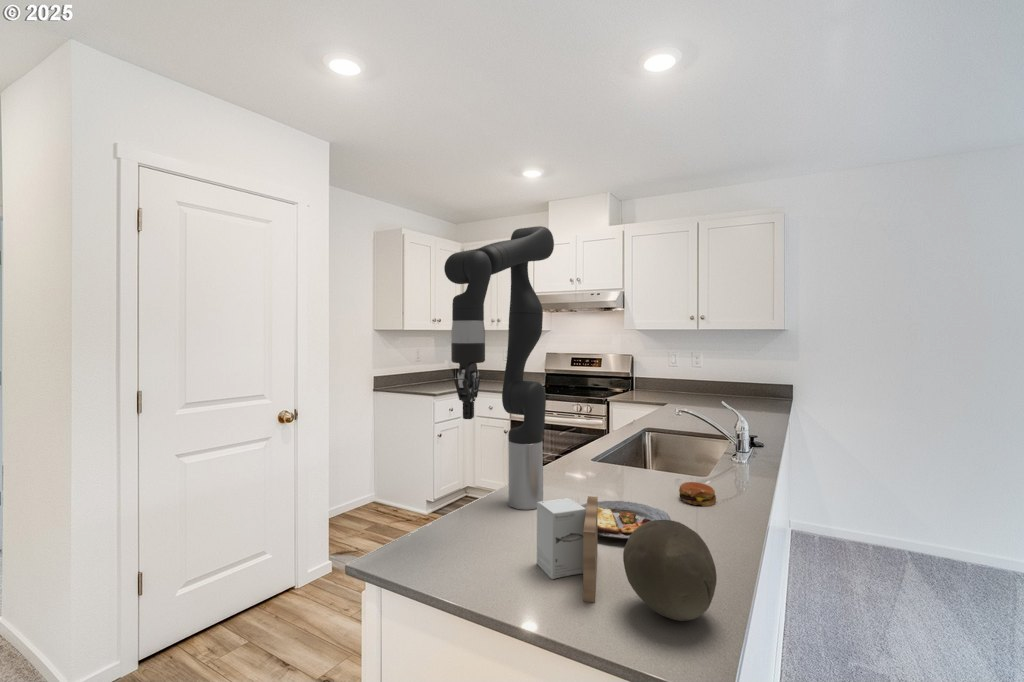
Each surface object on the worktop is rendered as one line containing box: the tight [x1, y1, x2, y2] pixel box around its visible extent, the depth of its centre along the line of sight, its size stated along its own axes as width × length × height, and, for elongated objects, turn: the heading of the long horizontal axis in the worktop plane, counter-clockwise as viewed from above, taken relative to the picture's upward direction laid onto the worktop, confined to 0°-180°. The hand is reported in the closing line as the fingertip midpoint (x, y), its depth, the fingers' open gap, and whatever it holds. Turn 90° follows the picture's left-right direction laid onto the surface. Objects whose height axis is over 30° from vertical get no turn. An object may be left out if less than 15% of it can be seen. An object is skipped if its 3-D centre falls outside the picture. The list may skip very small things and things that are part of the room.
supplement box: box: [536, 497, 586, 580], centre depth 97 cm, size 7×7×13 cm
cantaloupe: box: [622, 519, 717, 622], centre depth 81 cm, size 14×14×15 cm
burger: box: [678, 481, 717, 507], centre depth 137 cm, size 10×9×5 cm
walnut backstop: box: [582, 495, 599, 603], centre depth 94 cm, size 19×2×12 cm, turn 169°
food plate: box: [580, 500, 672, 540], centre depth 119 cm, size 25×23×4 cm
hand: (468, 418), depth 111 cm, fingers closed
